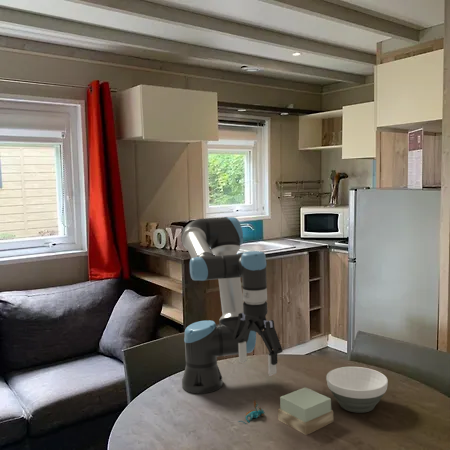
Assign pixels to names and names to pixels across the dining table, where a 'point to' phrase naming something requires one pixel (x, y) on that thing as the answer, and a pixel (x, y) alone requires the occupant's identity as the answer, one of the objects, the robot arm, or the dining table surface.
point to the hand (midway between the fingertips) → (257, 367)
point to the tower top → (305, 404)
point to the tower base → (308, 426)
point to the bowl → (357, 387)
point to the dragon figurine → (254, 413)
